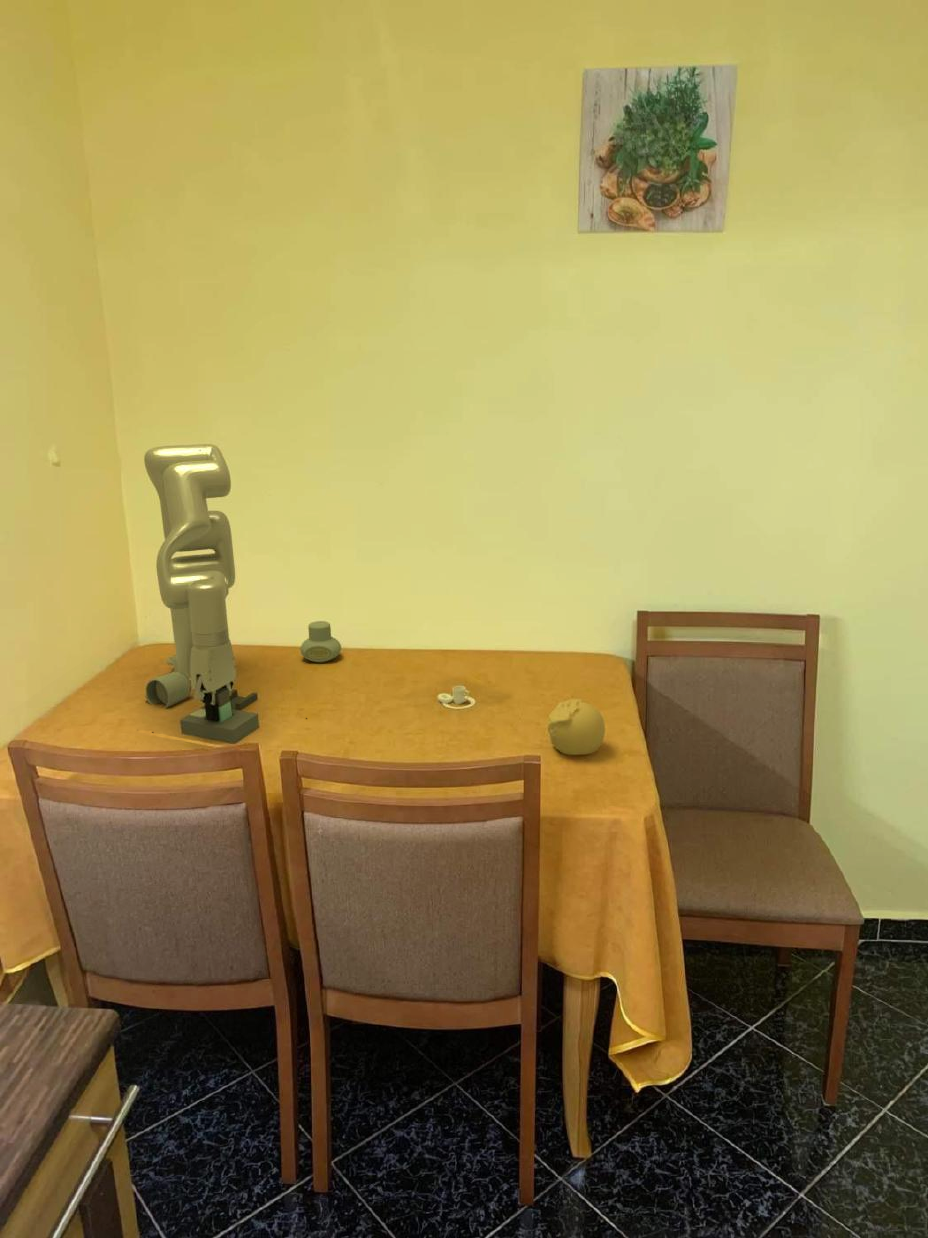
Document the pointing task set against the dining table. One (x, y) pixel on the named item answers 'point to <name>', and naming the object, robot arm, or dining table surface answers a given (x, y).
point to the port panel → (220, 726)
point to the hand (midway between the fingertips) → (219, 715)
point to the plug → (223, 704)
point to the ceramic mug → (168, 689)
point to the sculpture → (576, 727)
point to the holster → (241, 700)
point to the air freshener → (320, 643)
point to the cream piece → (456, 697)
